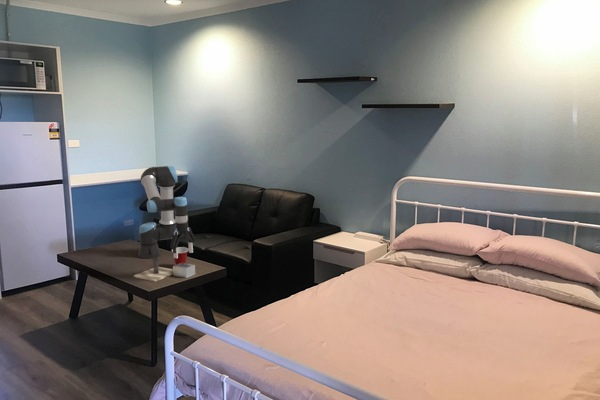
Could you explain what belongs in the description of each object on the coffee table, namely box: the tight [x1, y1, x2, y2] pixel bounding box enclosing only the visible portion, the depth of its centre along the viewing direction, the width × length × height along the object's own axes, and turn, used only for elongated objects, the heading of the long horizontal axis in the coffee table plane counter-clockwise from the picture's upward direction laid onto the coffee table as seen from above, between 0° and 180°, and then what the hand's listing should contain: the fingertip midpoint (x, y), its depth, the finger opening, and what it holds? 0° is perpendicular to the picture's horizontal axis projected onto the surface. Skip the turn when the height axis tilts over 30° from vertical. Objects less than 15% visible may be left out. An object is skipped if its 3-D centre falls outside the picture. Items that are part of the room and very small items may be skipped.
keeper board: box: [133, 256, 173, 282], centre depth 298 cm, size 20×18×12 cm
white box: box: [172, 262, 196, 279], centre depth 298 cm, size 8×11×6 cm
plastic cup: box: [171, 246, 189, 265], centre depth 313 cm, size 11×11×12 cm
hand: (183, 255), depth 296 cm, fingers open, 13 cm apart
